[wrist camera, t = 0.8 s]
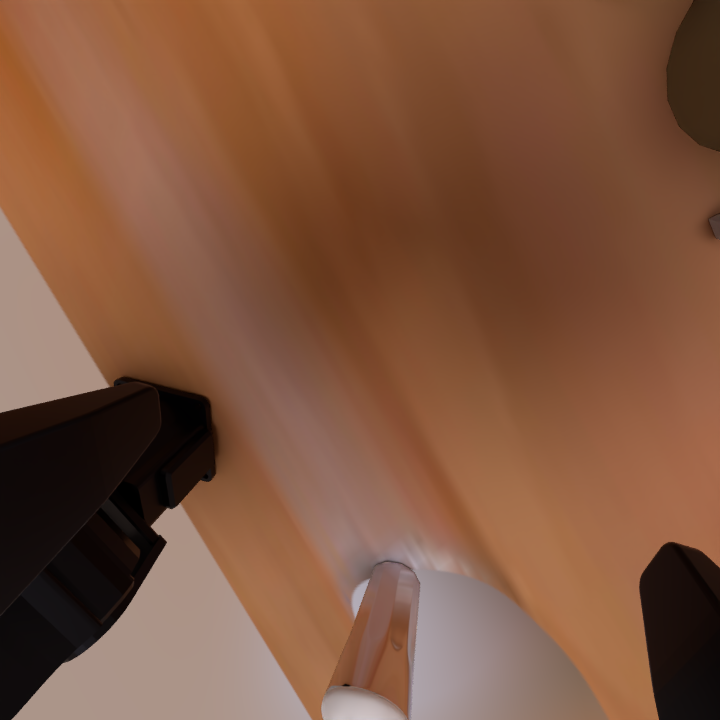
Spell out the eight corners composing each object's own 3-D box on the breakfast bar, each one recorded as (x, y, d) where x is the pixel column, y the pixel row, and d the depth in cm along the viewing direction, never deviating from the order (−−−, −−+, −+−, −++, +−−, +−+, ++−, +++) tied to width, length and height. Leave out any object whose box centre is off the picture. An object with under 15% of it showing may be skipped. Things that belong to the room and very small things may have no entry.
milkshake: (341, 568, 29) (278, 745, 20) (400, 544, 26) (357, 735, 18) (382, 610, 30) (339, 798, 21) (444, 591, 27) (423, 796, 18)
